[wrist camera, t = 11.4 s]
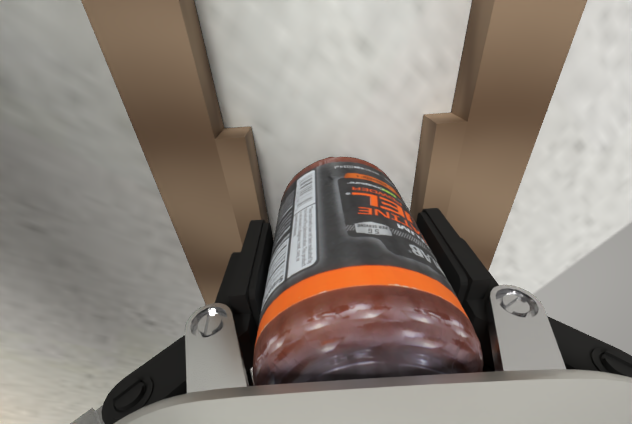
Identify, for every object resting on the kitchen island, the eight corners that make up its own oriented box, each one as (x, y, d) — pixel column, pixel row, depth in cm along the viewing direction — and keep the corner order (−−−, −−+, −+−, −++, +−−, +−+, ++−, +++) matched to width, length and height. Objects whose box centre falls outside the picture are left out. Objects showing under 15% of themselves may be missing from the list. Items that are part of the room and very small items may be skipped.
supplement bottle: (421, 186, 14) (665, 521, 4) (354, 264, 17) (415, 576, 7) (316, 127, 12) (344, 464, 3) (261, 225, 15) (177, 563, 5)
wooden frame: (-47, -421, 6) (-166, -574, 5) (710, -497, 6) (853, -685, 4) (214, 289, 18) (206, 313, 16) (467, 273, 18) (483, 296, 16)
